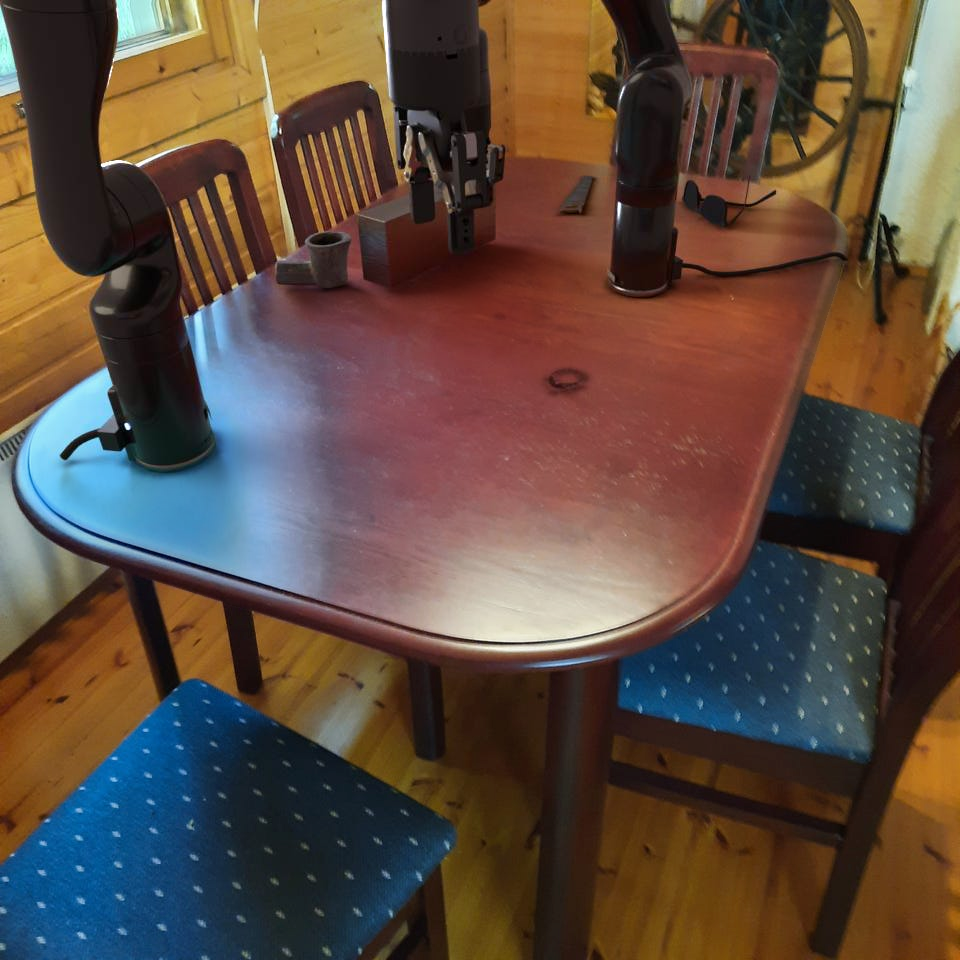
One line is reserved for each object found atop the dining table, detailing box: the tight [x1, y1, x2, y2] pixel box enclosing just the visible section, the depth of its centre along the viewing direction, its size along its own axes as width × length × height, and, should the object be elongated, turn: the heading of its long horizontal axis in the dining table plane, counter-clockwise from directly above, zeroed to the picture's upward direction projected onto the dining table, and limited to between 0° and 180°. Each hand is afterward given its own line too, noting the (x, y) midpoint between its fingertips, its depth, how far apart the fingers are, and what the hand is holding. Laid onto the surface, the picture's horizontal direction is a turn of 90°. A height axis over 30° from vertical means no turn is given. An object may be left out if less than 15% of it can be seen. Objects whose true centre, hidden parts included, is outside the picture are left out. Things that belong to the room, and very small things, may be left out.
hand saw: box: [558, 175, 594, 215], centre depth 174 cm, size 24×5×1 cm, turn 168°
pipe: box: [274, 230, 352, 289], centre depth 138 cm, size 6×13×8 cm, turn 95°
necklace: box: [548, 368, 584, 389], centre depth 114 cm, size 4×6×1 cm, turn 151°
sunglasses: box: [681, 175, 777, 228], centre depth 163 cm, size 17×14×5 cm
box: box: [356, 180, 497, 290], centre depth 143 cm, size 27×6×11 cm, turn 141°
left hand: (442, 236), depth 78 cm, fingers open, 8 cm apart
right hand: (470, 202), depth 149 cm, fingers closed on box, 6 cm apart
